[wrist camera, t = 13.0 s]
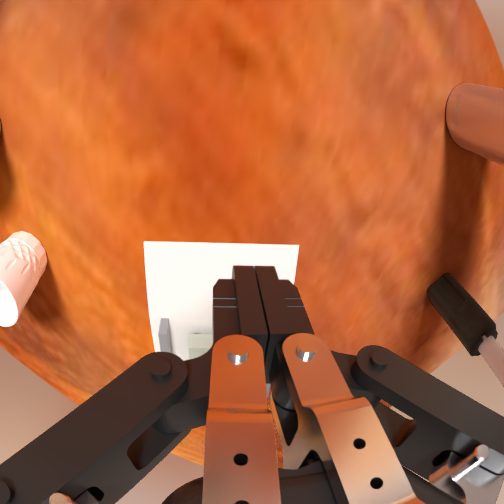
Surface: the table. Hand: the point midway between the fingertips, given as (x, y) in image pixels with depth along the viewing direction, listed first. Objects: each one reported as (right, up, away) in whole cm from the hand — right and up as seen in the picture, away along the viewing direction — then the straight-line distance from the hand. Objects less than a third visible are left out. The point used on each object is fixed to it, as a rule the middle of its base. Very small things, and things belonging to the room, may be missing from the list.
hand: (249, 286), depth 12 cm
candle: (+31, -5, +32) cm, 45 cm away
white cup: (-29, +1, +21) cm, 36 cm away
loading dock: (-4, -9, +30) cm, 31 cm away
